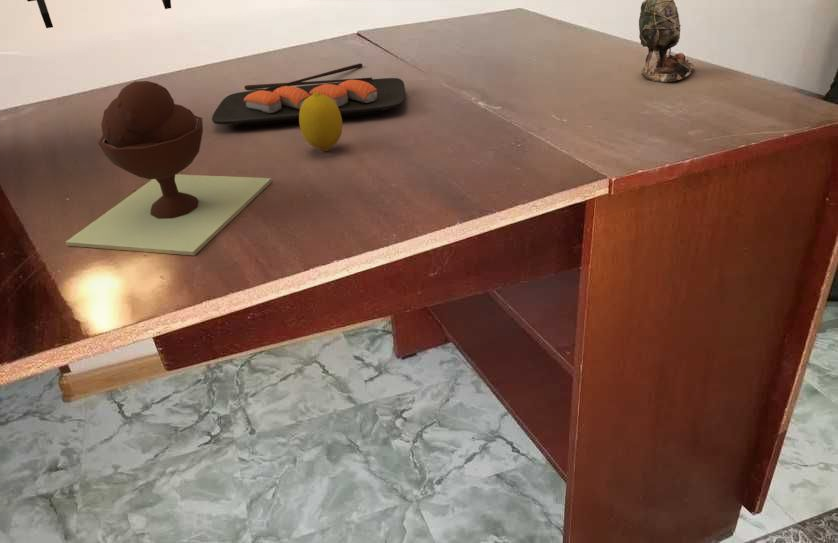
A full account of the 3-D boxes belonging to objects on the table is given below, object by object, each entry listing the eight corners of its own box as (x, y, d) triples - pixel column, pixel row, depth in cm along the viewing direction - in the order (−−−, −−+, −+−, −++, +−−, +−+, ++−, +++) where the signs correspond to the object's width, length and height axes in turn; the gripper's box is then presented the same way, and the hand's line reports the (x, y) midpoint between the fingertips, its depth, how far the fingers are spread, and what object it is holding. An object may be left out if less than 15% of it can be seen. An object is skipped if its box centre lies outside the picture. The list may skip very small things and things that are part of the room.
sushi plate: (209, 136, 102) (203, 110, 100) (245, 77, 128) (241, 56, 126) (406, 117, 102) (404, 91, 100) (403, 62, 127) (401, 40, 125)
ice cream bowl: (241, 192, 83) (210, 65, 75) (177, 236, 74) (135, 99, 67) (172, 183, 87) (137, 62, 79) (105, 224, 79) (57, 93, 71)
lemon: (354, 146, 94) (346, 87, 90) (327, 161, 90) (317, 101, 86) (323, 140, 97) (313, 83, 92) (296, 155, 93) (285, 96, 89)
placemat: (66, 245, 76) (65, 241, 76) (161, 176, 90) (160, 173, 90) (194, 255, 72) (193, 251, 71) (272, 181, 86) (271, 178, 86)
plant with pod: (616, 78, 109) (625, -63, 98) (668, 63, 113) (681, -74, 103) (657, 90, 103) (671, -59, 92) (709, 72, 107) (728, -71, 97)
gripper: (163, -120, 94) (214, 13, 90) (-44, -99, 85) (2, 48, 82) (159, -168, 87) (213, -27, 83) (-67, -151, 79) (-18, 7, 75)
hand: (109, 11), depth 82 cm, fingers open, 13 cm apart
